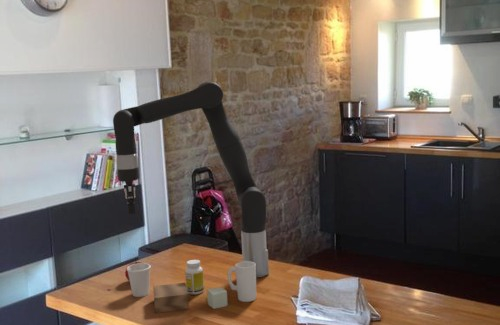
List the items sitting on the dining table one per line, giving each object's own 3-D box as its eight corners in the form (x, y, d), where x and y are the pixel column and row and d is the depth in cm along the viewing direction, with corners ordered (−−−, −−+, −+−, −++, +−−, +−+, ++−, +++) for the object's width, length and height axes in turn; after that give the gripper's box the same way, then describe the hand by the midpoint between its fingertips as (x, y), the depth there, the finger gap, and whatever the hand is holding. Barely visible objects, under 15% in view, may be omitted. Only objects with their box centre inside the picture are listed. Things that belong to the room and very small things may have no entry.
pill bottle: (205, 288, 203) (203, 258, 201) (202, 294, 197) (200, 264, 195) (188, 288, 203) (186, 258, 202) (184, 295, 197) (182, 264, 196)
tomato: (129, 287, 207) (127, 266, 206) (123, 280, 215) (121, 260, 214) (152, 282, 211) (151, 262, 210) (145, 276, 219) (144, 256, 218)
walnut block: (186, 296, 196) (185, 282, 195) (189, 308, 185) (188, 294, 185) (154, 300, 194) (153, 286, 193) (155, 312, 183) (154, 298, 183)
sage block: (221, 300, 191) (220, 286, 190) (227, 305, 186) (226, 291, 186) (207, 304, 189) (207, 289, 188) (213, 309, 184) (212, 294, 184)
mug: (259, 295, 194) (258, 261, 192) (253, 303, 187) (251, 268, 186) (232, 293, 197) (230, 260, 195) (225, 300, 191) (223, 266, 189)
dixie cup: (136, 288, 206) (134, 262, 204) (156, 290, 203) (154, 263, 202) (124, 297, 198) (121, 269, 197) (145, 299, 195) (143, 271, 194)
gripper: (139, 168, 194) (143, 214, 196) (137, 163, 208) (141, 206, 210) (117, 170, 192) (121, 217, 195) (116, 164, 206) (120, 208, 208)
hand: (131, 211), depth 202 cm, fingers open, 8 cm apart
